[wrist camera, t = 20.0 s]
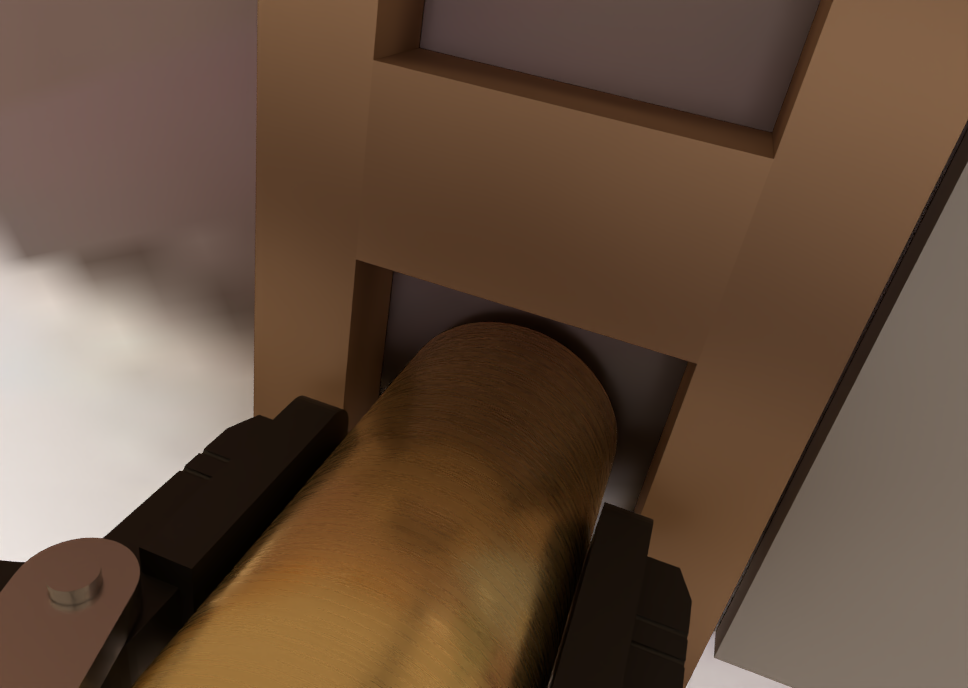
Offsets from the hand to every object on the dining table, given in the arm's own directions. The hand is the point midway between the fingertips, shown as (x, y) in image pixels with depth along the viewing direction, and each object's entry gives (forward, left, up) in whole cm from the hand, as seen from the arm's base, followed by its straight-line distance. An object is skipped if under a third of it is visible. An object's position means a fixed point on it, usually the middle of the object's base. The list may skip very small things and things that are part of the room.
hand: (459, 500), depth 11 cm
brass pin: (0, 0, -2) cm, 2 cm away
